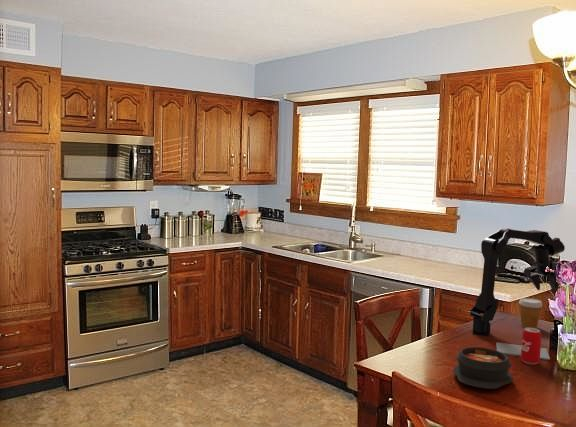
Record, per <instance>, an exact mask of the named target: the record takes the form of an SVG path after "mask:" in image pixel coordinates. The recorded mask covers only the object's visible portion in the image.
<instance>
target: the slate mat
mask: <svg viewBox="0 0 576 427" xmlns="http://www.w3.org/2000/svg"><path fill="white" fill-rule="evenodd" d="M495 345H496V351H499V352H501V353H504V354H505V355H506V356H514V357H520V358H521V347H522V344H520V345H519V344H511V343H504V342H496V344H495ZM540 360H542V361H543V360H544V361H551V357H550V354H549V352H548V349H547V348H544V347H541V350H540Z"/></svg>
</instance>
